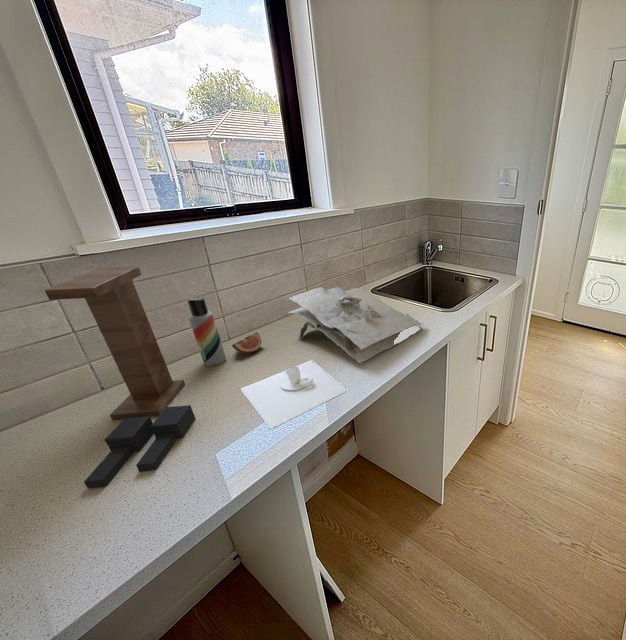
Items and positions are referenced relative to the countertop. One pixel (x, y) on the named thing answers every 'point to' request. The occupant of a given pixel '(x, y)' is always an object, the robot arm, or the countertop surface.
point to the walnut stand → (125, 337)
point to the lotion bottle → (206, 332)
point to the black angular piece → (166, 435)
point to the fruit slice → (248, 344)
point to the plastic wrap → (352, 320)
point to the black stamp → (121, 449)
